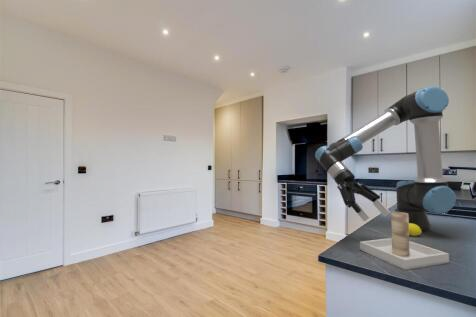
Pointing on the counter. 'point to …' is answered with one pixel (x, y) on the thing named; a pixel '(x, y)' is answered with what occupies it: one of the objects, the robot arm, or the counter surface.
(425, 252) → the tray
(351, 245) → the counter surface
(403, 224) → the dowel
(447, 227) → the counter surface
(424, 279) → the counter surface
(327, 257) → the counter surface
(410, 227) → the lemon
